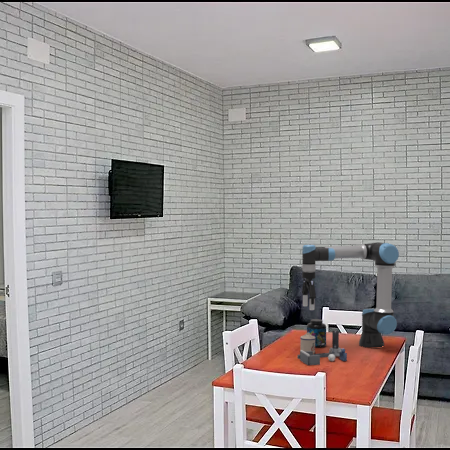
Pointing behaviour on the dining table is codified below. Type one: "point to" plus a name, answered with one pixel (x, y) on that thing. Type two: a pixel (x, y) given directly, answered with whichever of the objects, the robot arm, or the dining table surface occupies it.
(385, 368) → the dining table surface
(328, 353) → the rail
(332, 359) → the ball
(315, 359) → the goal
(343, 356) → the kicker
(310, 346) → the teacup with lid
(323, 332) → the container
